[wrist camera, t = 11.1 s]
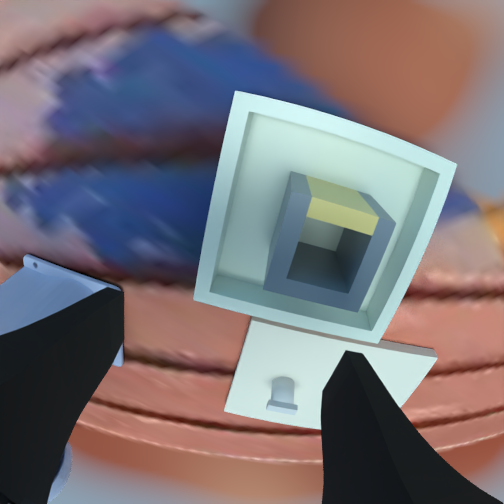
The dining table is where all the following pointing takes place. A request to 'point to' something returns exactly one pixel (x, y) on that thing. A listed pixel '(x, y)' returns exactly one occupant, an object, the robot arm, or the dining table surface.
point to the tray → (314, 231)
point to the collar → (320, 259)
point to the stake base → (311, 371)
